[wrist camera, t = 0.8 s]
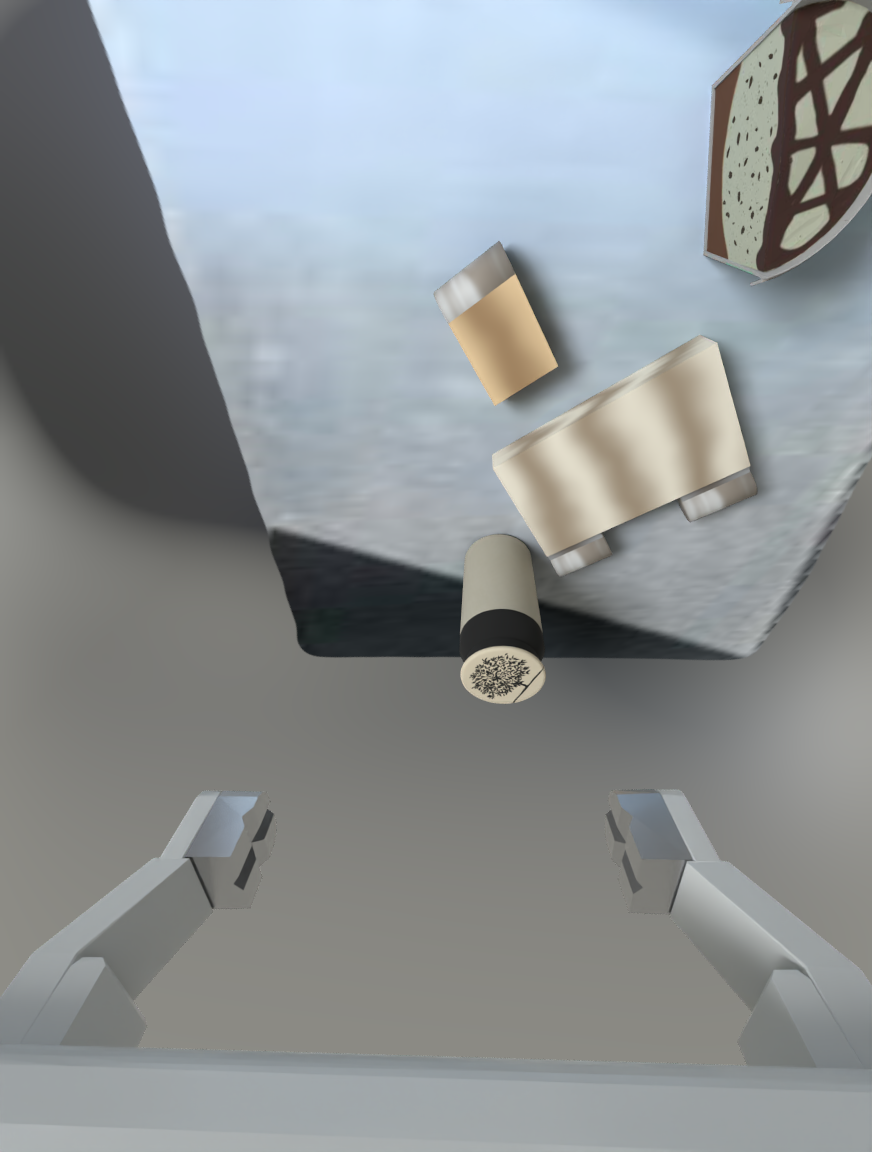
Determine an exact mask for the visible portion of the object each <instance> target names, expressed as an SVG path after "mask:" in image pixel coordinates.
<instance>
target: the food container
mask: <svg viewBox="0 0 872 1152" xmlns="http://www.w3.org/2000/svg"><path fill="white" fill-rule="evenodd" d="M791 1H792V6H791V7H790V8H789V9H788V10H787V11H786V12H785V13H784V14H783V15H782V16H781V17H780V18H779V19H778V20H777V21H776V22H775V23H774V24H773V25H772V26H771V27H770V28H769V29H768V30H767V31H766V32H765V33H764V34H763V35H762V36H761V37H760V38H759V39H758V40H757V41H756V42H755V43H754V44H753V45H752V46H751V47H750V48H749V49H748V50H747V51H746V52H745V53H744V54H743V55H742V56H741V57H740V58H739V59H738V60H737V61H736V62H735V63H734V64H733V65H732V66H731V67H730V68H729V69H728V70H727V71H726V72H725V73H724V74H723V75H722V76H721V77H720V78H719V79H718V80H717V81H716V82H715V83H714V84H713V85H712V96H711V116H710V136H709V156H708V176H707V196H706V215H705V235H704V255H705V256H707V257H710V258H712V259H715V260H717V261H720V262H722V263H725V264H727V265H730V266H733V267H735V268H738V269H740V270H743V271H745V272H748V273H750V274H753V275H755V276H758V277H760V278H761V279H760V280H757V281H755V282H752V283H750V286H752V285H756V284H759V283H762V282H765V281H768V280H770V279H773V278H776V277H778V276H780V275H782V274H784V273H786V272H788V271H790V270H791V269H793V268H795V267H797V266H798V265H800V264H801V263H803V262H804V261H806V260H807V259H809V258H810V257H812V256H813V255H814V254H815V253H817V252H818V251H819V250H820V249H822V248H823V247H824V246H825V245H826V244H828V243H829V242H830V241H831V240H832V239H833V238H835V237H836V236H837V235H838V233H839V232H840V231H841V230H842V229H843V228H844V227H845V226H846V225H847V224H848V223H849V222H850V221H851V220H852V219H853V218H854V216H855V215H856V214H857V213H858V211H859V210H860V209H861V208H862V206H863V205H864V204H865V203H866V201H867V200H868V198H869V197H870V195H871V194H872V0H780V4H782V3H786V2H791Z"/></svg>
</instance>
